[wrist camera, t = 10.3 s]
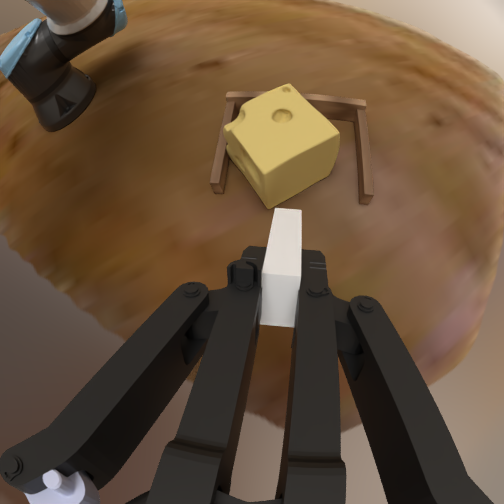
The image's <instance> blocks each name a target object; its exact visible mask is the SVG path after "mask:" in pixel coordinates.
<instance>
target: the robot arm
mask: <svg viewBox="0 0 504 504" xmlns="http://www.w3.org/2000/svg"><path fill="white" fill-rule="evenodd" d="M25 1H27V2H28V3H29V4H31V5H32V6H34V7H35V8H37V9H38V10H39V11H41V12H42V13H43V14H45V15H46V16H47V19H46V20H44V21H43V22H42V20H41V19H38V18H37V19H34V20H33V21H32V22H30V23H29V24H28V25H27V26H26V27H24V28H23V29H22V30H21V31H20V32H19V33H18V34H17V36H16V37H15V38H14V39H13V40H12V41H11V42H10V44H9V45H8V46H7V47H6V49H5V50H4V52H3V53H2V55H1V57H0V70H1V71H2V73H3V74H4V75H5V78H6V79H8V80H9V81H10V82H11V83H12V84H13V85H14V86H15V87H16V88H17V89H18V90H19V91H20V92H21V93H22V94H23V95H24V97H25V98H26V99H27V100H28V101H29V102H30V103H31V104H32V106H33V108H34V111H35V113H36V115H37V117H38V119H39V123H40V124H41V126H43V127H44V128H45V129H46V130H47V131H56V130H59V129H61V128H63V127H65V126H66V125H68V124H69V123H71V122H72V121H73V120H74V119H75V118H77V117H78V116H79V115H80V114H81V113H82V112H83V111H84V109H85V108H86V107H87V106H88V104H89V103H90V101H91V100H92V98H93V96H94V94H95V90H96V85H95V83H94V81H93V80H92V79H91V77H90V76H88V75H86V74H84V73H83V72H82V71H80V70H78V69H77V68H75V67H73V66H72V65H71V63H70V62H69V61H70V60H72V59H73V58H75V57H76V56H78V55H79V54H81V53H83V52H84V51H86V50H87V49H89V48H91V47H92V46H94V45H96V44H98V43H99V42H101V41H103V40H105V39H106V38H108V37H112V36H114V35H115V34H116V33H117V32H119V31H121V30H123V29H124V28H125V27H126V25H127V15H126V12H125V9H124V7H123V2H122V0H25ZM227 275H228V285H227V287H225V288H222V289H218V290H210V291H208V288H207V287H206V285H204V284H202V283H200V282H188V283H185V284H182V285H181V286H179V287H178V288H177V289H176V290H175V291H174V292H173V293H172V294H171V295H170V296H169V297H168V298H167V299H166V300H165V301H164V302H163V303H162V304H161V305H160V307H159V308H158V309H157V310H156V311H155V312H154V313H153V314H152V315H151V316H150V317H149V318H148V319H147V320H146V321H145V322H144V323H143V324H142V325H141V326H140V327H139V328H138V329H137V331H136V332H135V333H134V334H133V335H132V336H131V337H130V338H129V339H128V340H127V341H126V342H125V343H124V344H123V345H122V346H121V347H120V349H119V350H118V351H117V352H116V353H115V354H114V355H113V356H112V357H111V358H110V359H109V360H108V361H107V363H106V364H105V365H104V366H103V367H102V368H101V369H100V370H99V371H98V372H97V373H96V374H95V375H94V377H93V378H92V379H91V380H90V381H89V382H88V383H87V384H86V385H85V387H84V388H83V389H82V390H81V391H80V392H79V393H78V394H77V395H76V396H75V397H74V399H73V400H72V401H71V402H70V403H69V404H68V405H67V407H66V408H65V409H64V410H63V411H62V412H61V413H60V415H59V416H58V417H57V418H56V419H55V420H54V421H53V422H52V423H51V425H50V426H49V427H48V428H46V429H44V430H42V431H40V432H39V433H37V434H35V435H33V436H31V437H30V438H28V439H26V440H24V441H22V442H21V443H19V444H17V445H15V446H13V447H11V448H9V449H7V450H6V451H5V452H4V453H3V454H2V456H1V458H0V474H1V475H2V477H3V479H4V480H5V481H6V482H7V483H8V484H9V485H11V486H13V487H15V488H17V489H18V490H20V491H22V492H24V493H25V495H26V496H27V498H28V501H29V502H30V504H100V499H99V498H100V497H99V493H98V490H100V489H101V488H103V487H104V486H105V485H106V484H107V483H108V482H109V481H110V480H111V479H112V478H113V477H114V476H115V475H116V474H117V473H118V472H119V470H120V469H121V468H122V466H123V465H124V464H125V462H126V461H127V460H128V458H129V457H130V456H131V454H132V452H134V450H135V449H136V447H137V446H138V445H139V443H140V442H141V440H142V439H143V438H144V436H145V435H146V434H147V432H148V431H149V430H150V428H151V427H152V425H153V424H154V423H155V421H156V420H157V419H158V417H159V416H160V414H161V413H162V412H163V410H164V409H165V407H166V406H167V405H168V403H169V402H170V400H171V399H172V398H173V396H174V395H175V393H176V392H177V391H178V389H179V388H180V386H181V385H182V383H183V382H184V381H185V379H186V378H187V376H188V375H189V374H190V372H191V371H192V369H193V368H194V366H195V365H196V364H197V362H198V361H199V359H200V358H201V356H202V355H203V357H202V360H201V363H200V366H199V369H198V372H197V375H196V378H195V381H194V384H193V387H192V390H191V393H190V396H189V399H188V402H187V405H186V408H185V411H184V414H183V417H182V420H181V422H180V426H179V429H178V432H177V434H176V437H175V438H174V440H172V441H170V442H169V443H168V444H167V445H166V447H165V449H164V451H163V454H162V457H161V460H160V462H159V465H158V468H157V472H156V474H155V477H154V480H153V483H152V486H151V489H150V491H148V492H145V493H143V494H141V495H140V496H138V497H136V498H134V499H132V500H131V501H129V502H127V503H126V504H345V500H346V499H345V498H346V467H345V463H344V462H343V461H342V459H341V455H340V453H341V452H340V451H341V447H340V446H341V445H340V443H341V442H340V439H341V438H340V437H341V435H340V393H339V372H338V357H339V359H340V362H341V365H342V367H343V370H344V373H345V375H346V378H347V381H348V384H349V386H350V389H351V392H352V395H353V398H354V400H355V403H356V406H357V409H358V412H359V415H360V418H361V420H362V423H363V426H364V429H365V432H366V435H367V438H368V441H369V444H370V447H371V450H372V453H373V457H374V459H375V463H376V466H377V469H378V472H379V475H380V479H381V482H382V485H383V488H384V492H385V495H386V499H387V502H388V504H494V503H493V502H492V501H491V500H490V499H489V498H488V497H487V496H486V495H485V494H484V492H483V491H482V490H481V489H480V488H479V487H478V486H477V485H476V484H475V483H474V482H473V480H471V479H470V477H469V476H468V475H467V472H466V470H465V467H464V465H463V462H462V460H461V457H460V455H459V453H458V450H457V448H456V446H455V443H454V441H453V439H452V437H451V434H450V432H449V430H448V428H447V426H446V424H445V422H444V420H443V417H442V415H441V413H440V411H439V409H438V407H437V405H436V403H435V401H434V399H433V397H432V395H431V393H430V391H429V389H428V387H427V385H426V383H425V381H424V379H423V378H422V376H421V374H420V372H419V370H418V368H417V366H416V365H415V363H414V361H413V359H412V357H411V356H410V354H409V352H408V350H407V348H406V347H405V345H404V343H403V341H402V340H401V338H400V336H399V334H398V333H397V331H396V329H395V328H394V326H393V324H392V323H391V321H390V319H389V318H388V316H387V314H386V313H385V311H384V309H383V308H382V306H381V304H380V303H379V302H378V301H377V300H375V299H374V298H372V297H368V296H357V297H354V298H353V299H352V300H351V302H348V301H344V300H341V299H339V298H337V297H335V296H334V295H333V294H332V292H331V289H330V288H329V287H328V279H327V270H326V262H325V256H324V255H323V254H322V253H321V251H315V250H303V249H301V210H295V209H282V208H275V212H274V216H273V221H272V226H271V231H270V236H269V241H268V246H267V247H256V246H249V247H247V248H246V249H245V250H244V251H243V254H242V256H241V259H240V260H237V261H234V262H232V263H230V264H229V265H228V267H227ZM259 324H263V325H273V326H284V327H294V332H293V339H292V345H291V348H292V356H291V368H290V380H289V391H288V402H287V412H286V422H285V431H284V440H283V449H282V457H281V465H280V472H279V480H278V485H277V490H276V495H275V500H267V501H259V502H245V501H242V500H240V499H237V498H235V497H232V496H230V495H229V492H230V486H231V476H232V470H233V465H234V461H235V456H236V451H237V446H238V441H239V436H240V431H241V426H242V421H243V416H244V411H245V406H246V401H247V396H248V390H249V385H250V380H251V374H252V369H253V364H254V358H255V353H256V347H257V342H258V336H259ZM337 354H338V355H337Z"/></svg>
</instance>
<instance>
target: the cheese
mask: <svg viewBox="0 0 504 504" xmlns="http://www.w3.org/2000/svg"><path fill="white" fill-rule="evenodd" d="M223 134H224V137H225V139H226V141H227V143H228V145H227V146H226V150H227V153H228V155H229V157H230V159H231V160H232V161H233V163H234V164H235V165H236V166H237V167H238V168H239V169H240V171H241V172H242V173H243V174H244V176H245V177H246V179H247V180H248V181H249V183H250V184H251V186H252V187H253V189H254V190H255V191H256V193H257V194H258V196H259V197H260V199H261V200H262V202H263V203H264V205H265V206H266V207H267V209H271V208H273V207H274V206H276V205H278V204H280V203H282V202H283V201H285V200H287V199H289V198H291V197H292V196H294V195H296V194H298V193H299V192H301V191H303V190H304V189H306V188H308V187H309V186H311V185H313V184H314V183H316V182H318V181H320V180H321V179H323V178H325V177H327V176H329V174H330V172H331V170H332V168H333V166H334V164H335V161H336V158H337V154H338V151H339V146H340V133H339V131H338V130H337V129H336V128H335V127H334V126H333V125H332V124H331V123H330V122H329V121H328V120H327V119H326V118H325V117H324V116H323V115H322V114H321V113H320V112H319V111H317V110H316V109H315V108H314V107H313V106H312V105H311V104H310V103H309V102H308V101H307V100H306V99H304V98H303V97H302V96H301V94H300V93H299V92H298V91H297V90H296V89H295V88H294V87H293V86H292V85H291V84H286V85H283V86H280V87H278V88H276V89H273V90H271V91H268V92H266V93H264V94H262V95H260V96H258V97H256V98H254V99H252V100H250V101H248V102H246V103H244V104H243V105H242V106H241V109H240V113H239V116H238V117H237V118H236V119H235V120H234V121H233V122H231V123H229V124H227V125H225V126H224V128H223Z"/></svg>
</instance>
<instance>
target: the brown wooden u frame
mask: <svg viewBox="0 0 504 504" xmlns="http://www.w3.org/2000/svg"><path fill="white" fill-rule="evenodd" d="M264 93H266V92H227V95H226V100H227V104H226V108H225V113H224V117H223V121H222V126H221V130H220V135H219V140H218V144H217V149H216V154H215V159H214V164H213V168H212V174H211V179H210V185H211V187H212V189H213V191H214V193H219V194H224V188H225V182H226V176H227V170H228V164H229V159H230V157H229V155H228V153H227V150H226V146H227V145H228V143H227V141H226V139H225V137H224V134H223V128H224V126H225V125H227V124H229V123H231V122H233V121H234V120H235V119H236V118H237V116H238V114H239V113H240V109H241V106H242V105H243V104H244V103H246V102H248V101H250V100H252V99H254V98H256V97H258V96H260V95H262V94H264ZM300 94H301V96H302V97H303V98H304V99H306V100H307V101H308V102H309V103H310V104H311V105H312V106H313V107H314V108H315V109H316V110H317V111H319V112H320V113H321V114H322V115H323V116H324V117H325V118H326V119H336V120H344V121H352V122H354V128H355V139H356V151H357V166H358V185H359V204H364V205H368V204H369V202H370V200H371V199H372V197H373V196H374V191H373V176H372V164H371V154H370V144H369V136H368V128H367V120H366V113H365V109H366V101H365V100H359V99H352V98H345V97H336V96H327V95H317V94H304V93H300Z"/></svg>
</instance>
